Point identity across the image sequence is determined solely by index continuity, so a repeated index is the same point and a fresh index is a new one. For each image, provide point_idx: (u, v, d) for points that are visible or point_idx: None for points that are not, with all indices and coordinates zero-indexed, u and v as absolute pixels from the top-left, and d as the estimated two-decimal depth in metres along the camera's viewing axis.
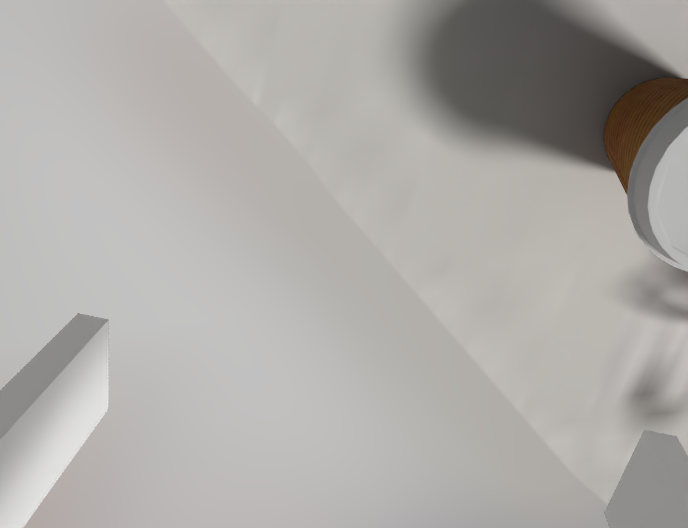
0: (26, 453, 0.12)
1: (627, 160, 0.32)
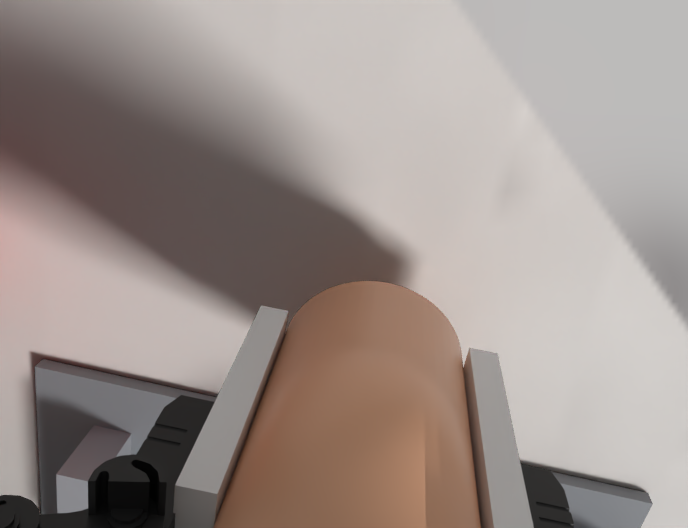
0: None
1: None
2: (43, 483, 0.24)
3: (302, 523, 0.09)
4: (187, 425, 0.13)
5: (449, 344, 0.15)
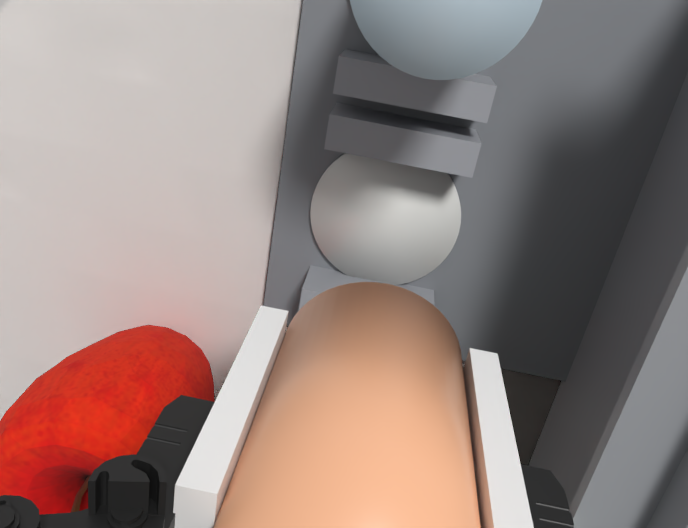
0: None
1: None
2: None
3: (302, 525, 0.09)
4: (187, 425, 0.13)
5: (449, 345, 0.15)
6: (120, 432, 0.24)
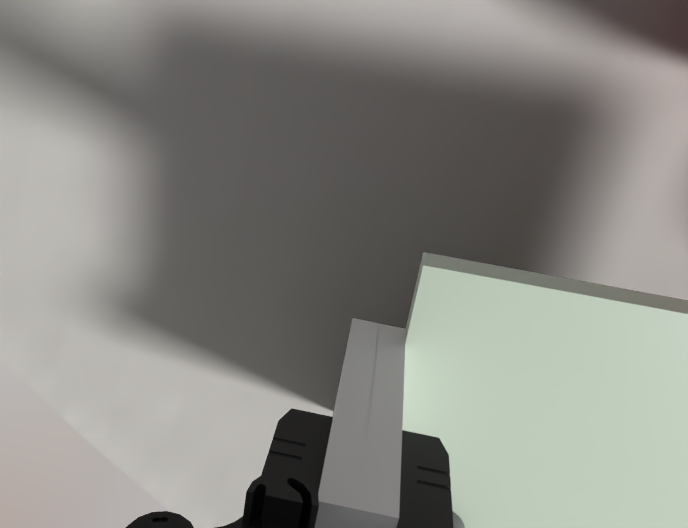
0: None
1: None
2: None
3: None
4: (304, 439, 0.13)
5: None
6: None
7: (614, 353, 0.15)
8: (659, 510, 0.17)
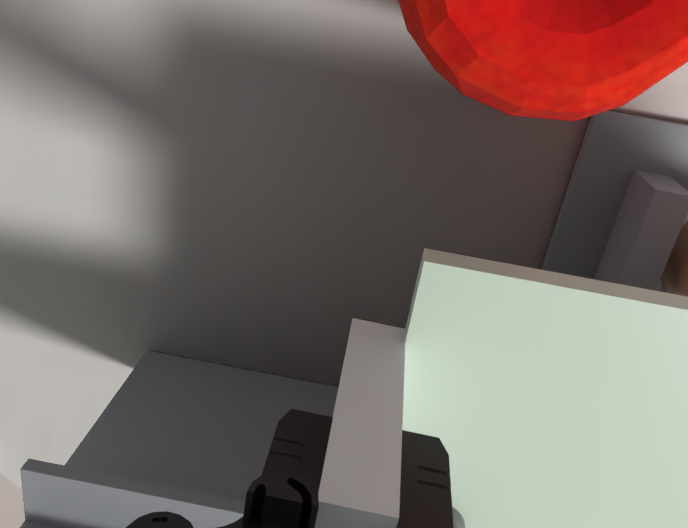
0: None
1: None
2: (558, 238, 0.26)
3: None
4: (304, 439, 0.13)
5: None
6: None
7: (614, 349, 0.16)
8: (658, 506, 0.17)
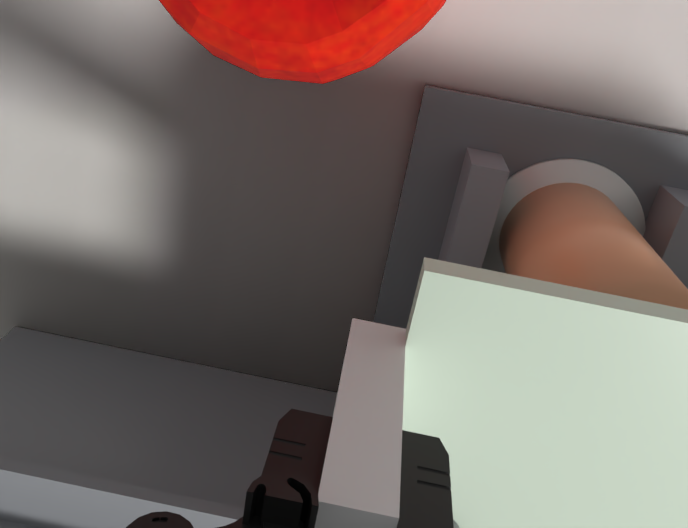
0: None
1: None
2: (400, 215, 0.26)
3: None
4: (304, 439, 0.13)
5: None
6: None
7: (613, 361, 0.16)
8: (655, 518, 0.17)
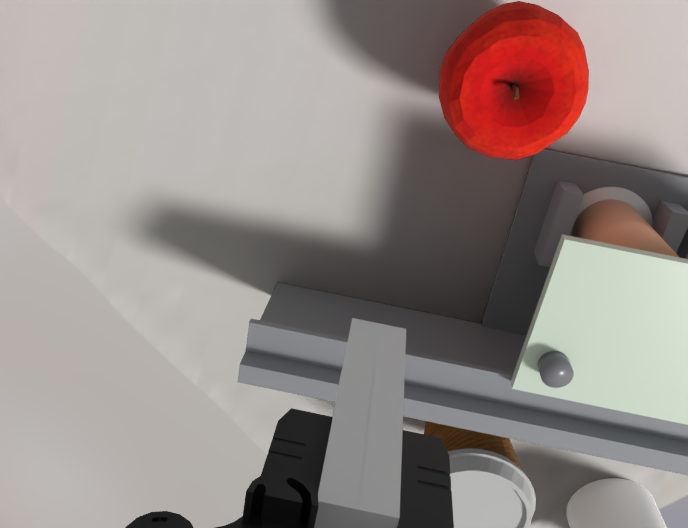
0: None
1: None
2: (518, 216, 0.48)
3: None
4: (304, 439, 0.13)
5: None
6: (569, 129, 0.36)
7: (641, 277, 0.37)
8: (658, 351, 0.39)
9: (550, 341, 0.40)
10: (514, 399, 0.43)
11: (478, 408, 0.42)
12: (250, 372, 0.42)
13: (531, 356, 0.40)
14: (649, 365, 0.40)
